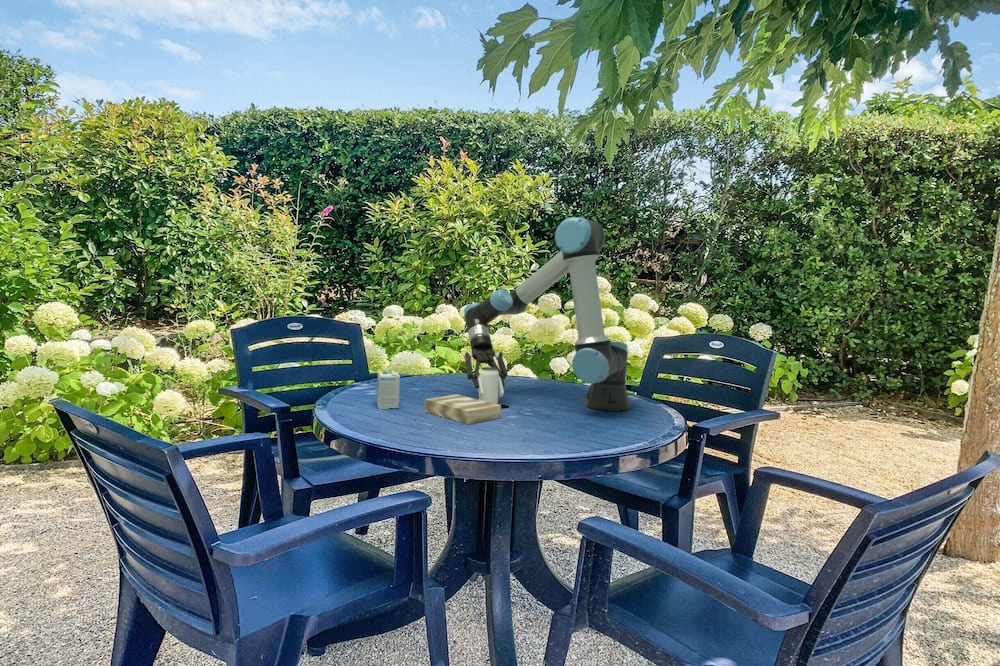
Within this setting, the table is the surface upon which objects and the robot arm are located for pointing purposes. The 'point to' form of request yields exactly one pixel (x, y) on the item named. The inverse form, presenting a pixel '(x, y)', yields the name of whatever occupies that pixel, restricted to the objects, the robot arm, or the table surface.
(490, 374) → the can
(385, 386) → the light bulb box
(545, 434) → the table surface
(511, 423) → the table surface
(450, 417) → the block
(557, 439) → the table surface
